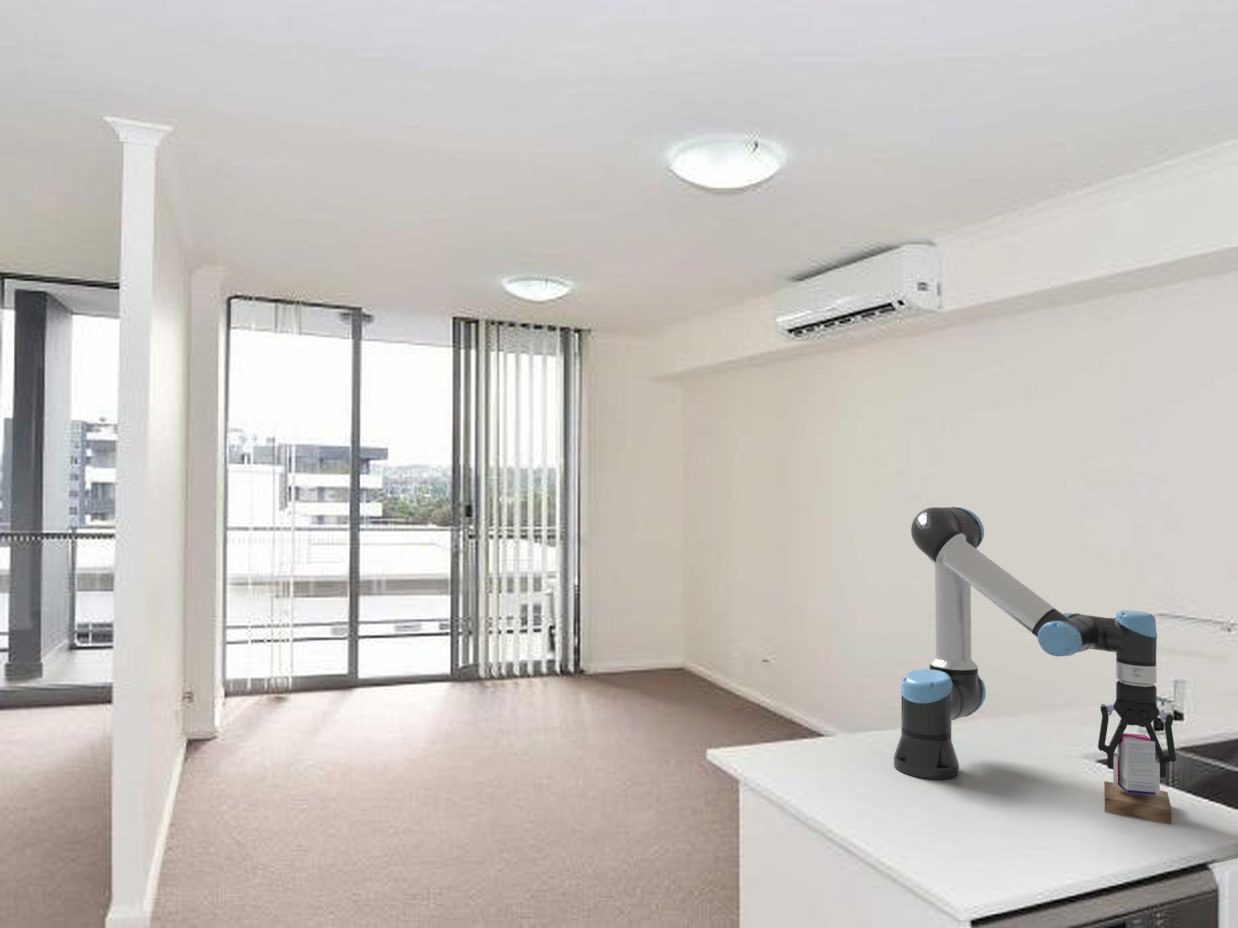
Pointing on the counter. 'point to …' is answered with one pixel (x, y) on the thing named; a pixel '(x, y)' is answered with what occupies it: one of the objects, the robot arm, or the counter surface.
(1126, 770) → the supplement box
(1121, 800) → the wooden block
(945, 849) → the counter surface
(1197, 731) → the counter surface
